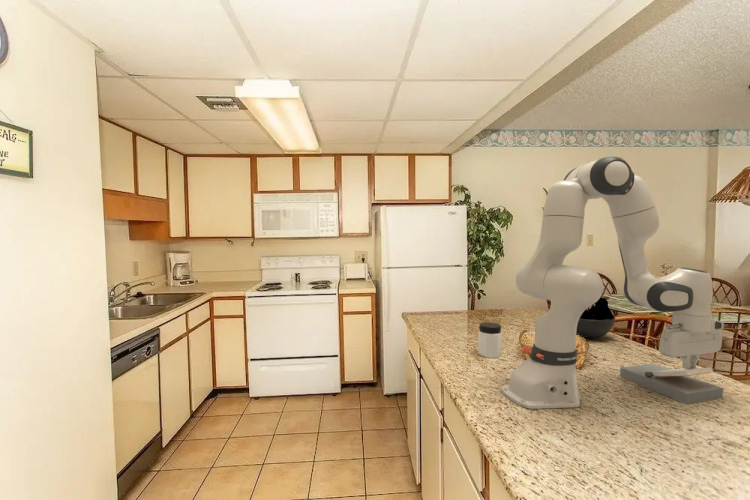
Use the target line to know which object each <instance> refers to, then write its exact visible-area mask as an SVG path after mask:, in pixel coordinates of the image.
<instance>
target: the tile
mask: <svg viewBox="0 0 750 500" xmlns="http://www.w3.org/2000/svg"><path fill="white" fill-rule="evenodd" d="M711 373H714V369H713V367H696V368H695V369H689V370H687V369H684V368H680V369H674V368H672V369H670V370H663V371H656V372H652V374H653V376H655V377H664V376H690V377H692V376H697V375H704V374H711Z"/></svg>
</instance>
